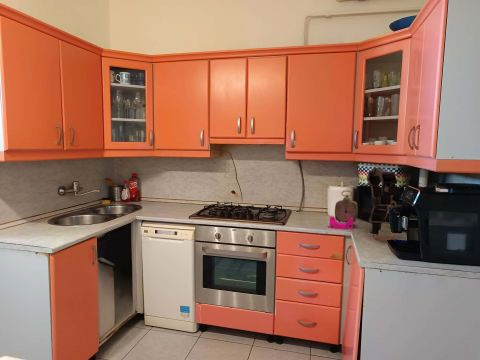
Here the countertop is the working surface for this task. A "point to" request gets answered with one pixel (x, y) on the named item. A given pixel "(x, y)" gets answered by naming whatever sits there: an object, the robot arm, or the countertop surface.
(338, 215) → the tabletop clock
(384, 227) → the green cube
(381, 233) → the tower top
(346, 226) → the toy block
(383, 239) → the tower base
